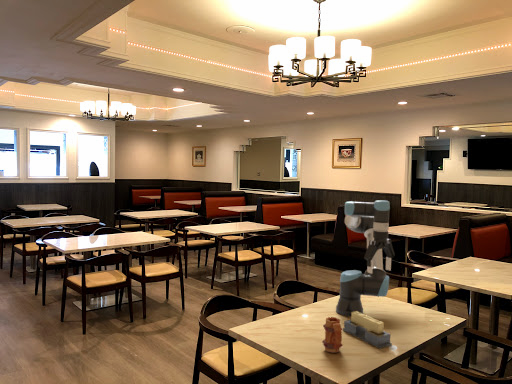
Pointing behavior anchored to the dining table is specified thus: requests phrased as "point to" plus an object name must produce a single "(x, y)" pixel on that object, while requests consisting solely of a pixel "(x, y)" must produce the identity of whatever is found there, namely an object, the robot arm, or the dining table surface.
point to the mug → (332, 335)
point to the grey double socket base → (367, 335)
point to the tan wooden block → (367, 322)
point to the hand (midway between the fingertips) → (379, 271)
